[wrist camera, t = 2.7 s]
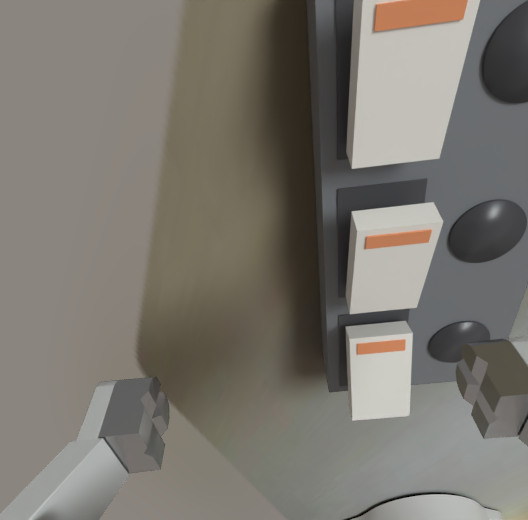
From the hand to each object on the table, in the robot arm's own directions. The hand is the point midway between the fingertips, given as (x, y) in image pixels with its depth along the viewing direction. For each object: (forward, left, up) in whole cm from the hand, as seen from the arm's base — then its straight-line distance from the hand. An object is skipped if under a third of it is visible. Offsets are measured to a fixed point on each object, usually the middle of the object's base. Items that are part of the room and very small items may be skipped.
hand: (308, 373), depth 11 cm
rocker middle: (-3, -4, -8) cm, 9 cm away
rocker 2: (+5, -4, -8) cm, 10 cm away
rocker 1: (-11, -4, -8) cm, 14 cm away
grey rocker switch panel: (-3, -7, -13) cm, 15 cm away
